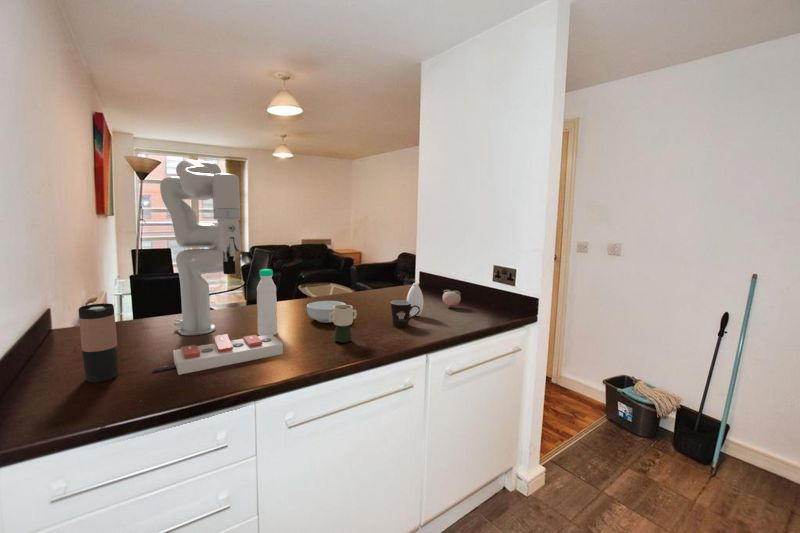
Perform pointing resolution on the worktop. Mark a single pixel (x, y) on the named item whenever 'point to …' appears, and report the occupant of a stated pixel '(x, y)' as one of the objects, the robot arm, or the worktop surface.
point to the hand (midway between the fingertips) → (229, 273)
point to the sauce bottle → (415, 299)
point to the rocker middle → (223, 343)
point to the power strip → (224, 355)
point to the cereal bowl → (322, 310)
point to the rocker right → (252, 340)
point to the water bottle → (266, 304)
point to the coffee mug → (401, 313)
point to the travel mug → (99, 341)
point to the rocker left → (190, 351)
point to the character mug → (342, 321)
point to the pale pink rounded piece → (451, 298)
